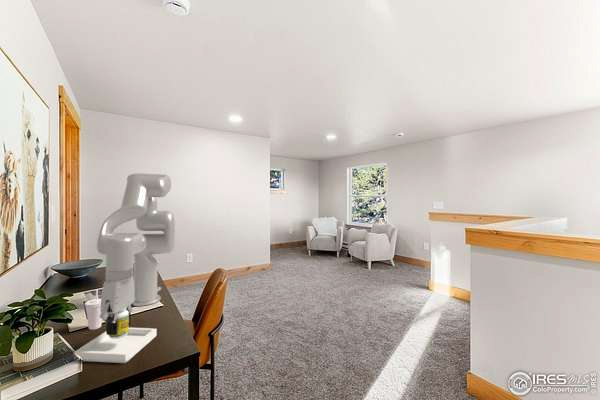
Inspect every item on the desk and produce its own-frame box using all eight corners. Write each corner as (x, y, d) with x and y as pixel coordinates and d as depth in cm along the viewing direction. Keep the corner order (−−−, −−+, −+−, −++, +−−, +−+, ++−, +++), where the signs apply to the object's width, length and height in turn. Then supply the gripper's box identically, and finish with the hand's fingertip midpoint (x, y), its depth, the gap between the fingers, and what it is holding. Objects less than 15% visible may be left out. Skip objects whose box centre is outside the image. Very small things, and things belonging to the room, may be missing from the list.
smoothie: (93, 332, 98) (94, 293, 98) (79, 330, 99) (80, 292, 99) (109, 324, 104) (110, 287, 104) (95, 322, 105) (96, 286, 105)
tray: (112, 333, 97) (113, 326, 97) (156, 335, 96) (156, 328, 96) (73, 360, 81) (73, 352, 81) (125, 363, 80) (125, 354, 80)
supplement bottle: (116, 331, 91) (116, 302, 91) (132, 331, 91) (132, 302, 91) (104, 339, 86) (105, 309, 86) (121, 339, 86) (122, 309, 86)
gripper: (126, 267, 97) (125, 317, 97) (87, 281, 80) (85, 343, 80) (147, 268, 97) (146, 318, 97) (111, 282, 80) (110, 344, 80)
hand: (118, 329), depth 89 cm, fingers closed on supplement bottle, 5 cm apart
